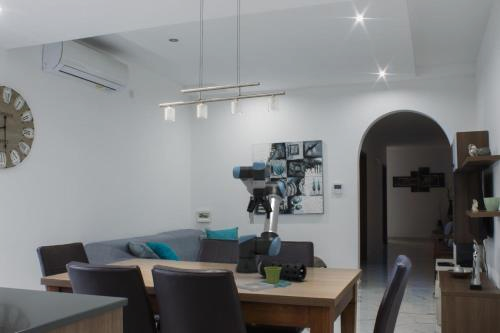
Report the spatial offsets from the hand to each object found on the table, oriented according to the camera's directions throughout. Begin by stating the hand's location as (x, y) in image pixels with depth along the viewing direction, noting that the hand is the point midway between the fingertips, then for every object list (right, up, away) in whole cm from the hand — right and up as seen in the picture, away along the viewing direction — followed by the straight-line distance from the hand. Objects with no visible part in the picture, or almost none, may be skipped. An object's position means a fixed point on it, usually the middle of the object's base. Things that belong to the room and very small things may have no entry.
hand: (259, 224), depth 296 cm
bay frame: (+2, -30, -27) cm, 40 cm away
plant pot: (+7, -30, -22) cm, 38 cm away
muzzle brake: (+13, -32, -5) cm, 35 cm away
